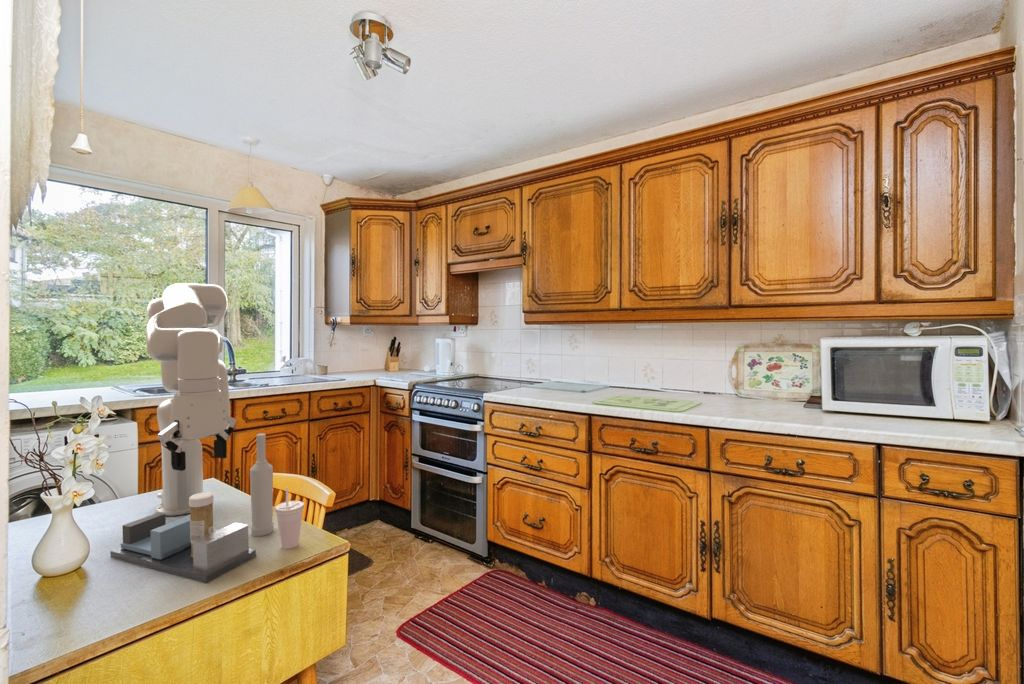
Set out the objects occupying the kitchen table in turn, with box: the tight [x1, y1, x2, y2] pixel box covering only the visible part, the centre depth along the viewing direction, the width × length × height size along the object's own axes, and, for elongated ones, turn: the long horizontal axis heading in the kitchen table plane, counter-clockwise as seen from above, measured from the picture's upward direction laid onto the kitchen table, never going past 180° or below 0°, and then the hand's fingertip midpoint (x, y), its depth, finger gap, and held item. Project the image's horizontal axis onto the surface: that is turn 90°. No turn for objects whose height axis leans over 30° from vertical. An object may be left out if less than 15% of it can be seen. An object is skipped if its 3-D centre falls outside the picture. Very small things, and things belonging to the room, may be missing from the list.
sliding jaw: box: [120, 512, 191, 560], centre depth 111 cm, size 14×10×6 cm
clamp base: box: [109, 522, 257, 584], centre depth 108 cm, size 30×12×8 cm, turn 70°
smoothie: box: [274, 487, 305, 550], centre depth 114 cm, size 6×6×14 cm
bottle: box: [249, 433, 275, 537], centre depth 121 cm, size 5×5×25 cm
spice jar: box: [189, 491, 215, 558], centre depth 106 cm, size 5×5×14 cm
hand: (200, 463), depth 106 cm, fingers open, 9 cm apart
